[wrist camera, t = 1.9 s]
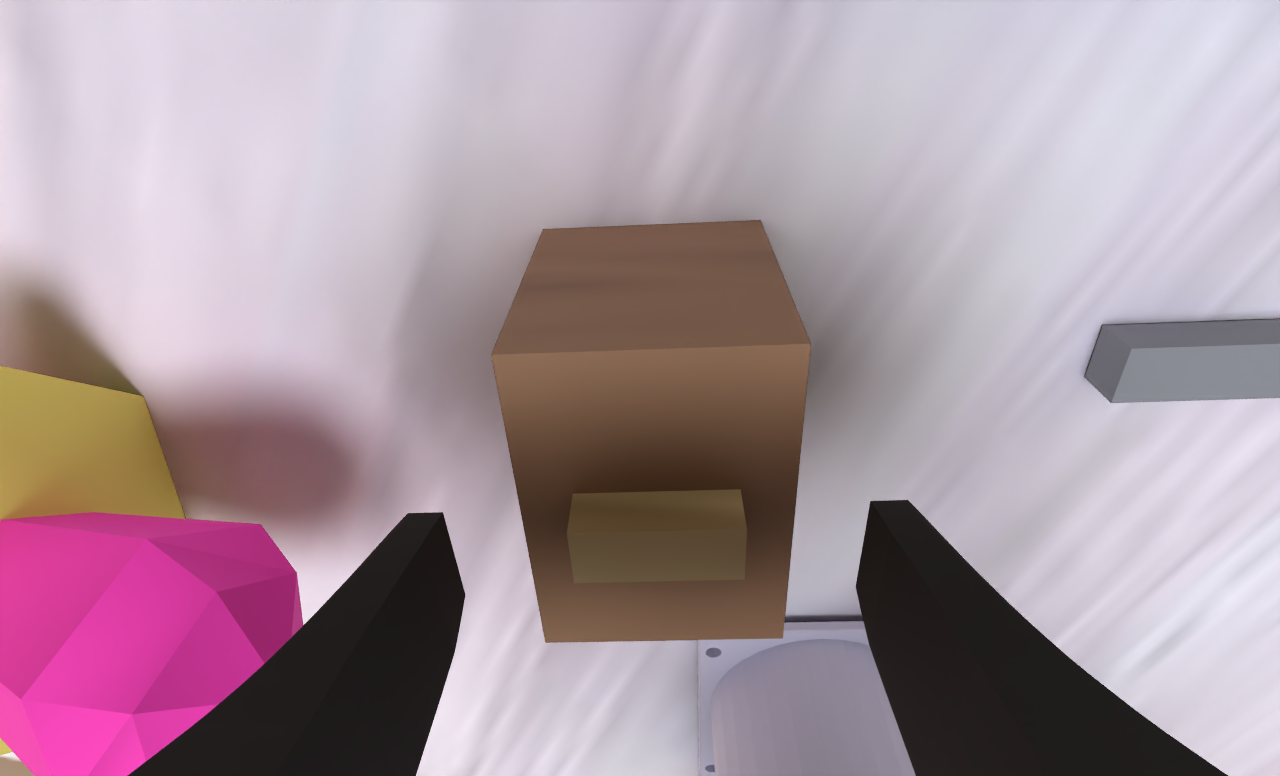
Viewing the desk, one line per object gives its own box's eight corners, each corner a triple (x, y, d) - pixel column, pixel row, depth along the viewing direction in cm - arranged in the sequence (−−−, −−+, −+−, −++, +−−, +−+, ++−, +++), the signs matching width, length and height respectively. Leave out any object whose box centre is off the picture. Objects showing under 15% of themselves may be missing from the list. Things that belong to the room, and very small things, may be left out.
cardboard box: (749, 460, 19) (790, 681, 13) (573, 465, 20) (538, 684, 14) (759, 219, 16) (824, 377, 10) (543, 228, 16) (477, 388, 10)
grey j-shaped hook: (1449, 365, 17) (1588, 435, 15) (619, 392, 18) (614, 463, 16) (1886, -286, 11) (2264, -362, 8) (575, -198, 12) (552, -242, 9)
